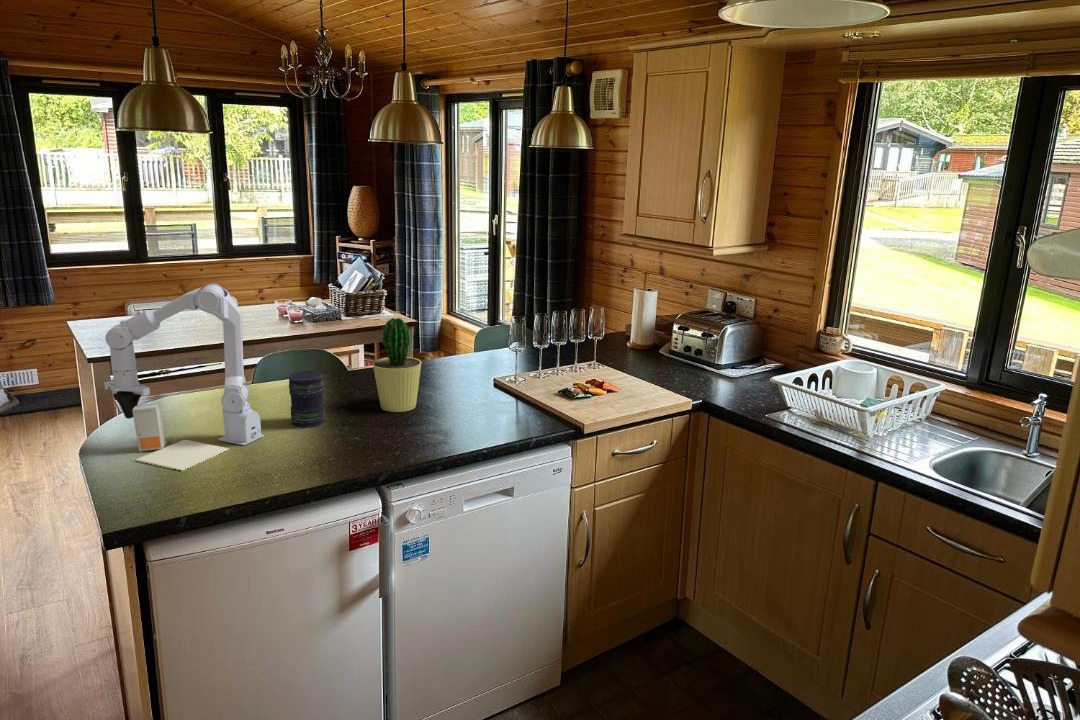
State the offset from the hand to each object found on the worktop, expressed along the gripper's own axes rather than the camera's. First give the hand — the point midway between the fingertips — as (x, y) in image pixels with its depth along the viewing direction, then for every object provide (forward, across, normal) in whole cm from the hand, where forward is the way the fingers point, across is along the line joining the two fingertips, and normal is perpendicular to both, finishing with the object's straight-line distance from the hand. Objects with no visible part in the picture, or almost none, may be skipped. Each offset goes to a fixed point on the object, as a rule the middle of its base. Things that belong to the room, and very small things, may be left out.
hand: (130, 417), depth 204 cm
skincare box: (+8, +7, 0) cm, 11 cm away
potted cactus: (+8, +47, +60) cm, 77 cm away
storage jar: (+8, +31, +35) cm, 47 cm away
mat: (+8, +18, 0) cm, 20 cm away
